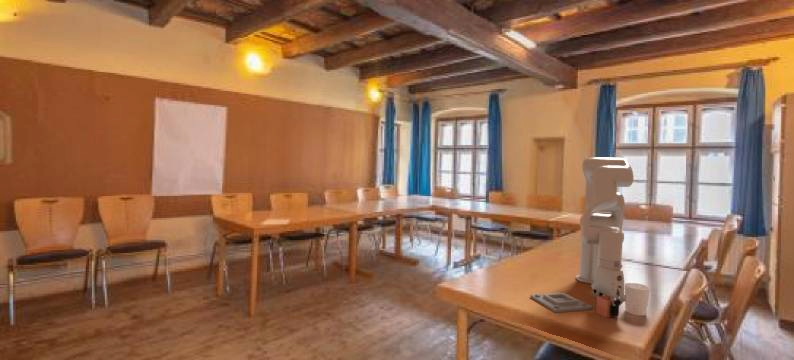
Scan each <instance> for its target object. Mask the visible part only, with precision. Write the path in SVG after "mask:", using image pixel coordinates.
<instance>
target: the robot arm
mask: <svg viewBox="0 0 794 360" xmlns="http://www.w3.org/2000/svg"><path fill="white" fill-rule="evenodd" d="M581 168H582V172H583V175H584V178H585V182H586V185H585V198H584V201H585V202H584V206H585V211H584V212H583V213H582V215H581V216H580V220H579V224H580V226H579V227H580V256H579V258H580V260H579V261H580V262H579V263H580V264H579V273H578V274H576V276H575V279H576V280H577V281H578V282H582V283H585V284H590V286H591V288H592V291H593V294H594V298H595V303H596V302H597V296H605V295H607V296H609V297H610V298H611V302H612V305H611V306H610V316H614V317H618V316H619V313H620V306H621V305H622V304H623V303H625V301H626V297H625V276H624V275H625V274H624V270H623V269H622V268H623V265H622V258H623V256H622V255H623V243H624V241H625V233H624V232H623V225H624V216H625V215H624V214H625V205H626V204H625V197H624V195H623V194H622V193H621V192H618V190H617V188H618V187H619V188H630V187H631V186H632V185H633V183H634V172H633V168H632V167H631V165H630V163H629V161H628V159H626V158H623V157H599V156H597V157H587V158H585V159H583V161H582V167H581ZM608 213H609V214H608ZM614 298H615V299H616V301H615V299H614Z"/></svg>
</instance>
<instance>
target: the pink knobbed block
mask: <svg viewBox="0 0 794 360" xmlns="http://www.w3.org/2000/svg"><path fill="white" fill-rule="evenodd" d="M614 299H615V301H616V298H614ZM611 305H612V302H611V298H610V297H609V296H607V295H605V294H604V296H597V302H596V301H595V312H596V314H599V315H600V316H602V317H605V318H612V317H615V316H610V306H611Z"/></svg>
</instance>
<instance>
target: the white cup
mask: <svg viewBox="0 0 794 360" xmlns="http://www.w3.org/2000/svg"><path fill="white" fill-rule="evenodd" d="M650 289H651V288H650V287H649V286H648V285H645V284H642V283H637V282H626V283H624V295H625V297H626V301H624V304H625V305H624V310H625V312H626V313H628V314H630V315H632V316H637V317H638V316H639V317H643V316H646V315H647V313H648V306H649V297H650Z"/></svg>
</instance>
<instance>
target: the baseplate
mask: <svg viewBox="0 0 794 360" xmlns="http://www.w3.org/2000/svg"><path fill="white" fill-rule="evenodd" d="M529 297H530V299H532V300H534V301H535V302H537V303H539V304H541V305H542V306H544V307H545V308H547V309H549V310H550V311H552V312H554V313H564V312H565V313H567V312H574V311H585V310H588V311H589V310H593V306H592V305H590V304H588V303H587V302H584V301H582V300H580V299H578V298H576V297H574V296H572V295H569V294H568V293H567V292H564V291H563V292H562V291H561V292H553V293H551V292H550V293H540V294H539V293H535V294H530V296H529Z"/></svg>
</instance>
